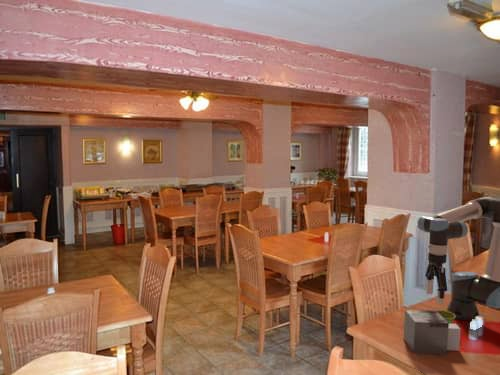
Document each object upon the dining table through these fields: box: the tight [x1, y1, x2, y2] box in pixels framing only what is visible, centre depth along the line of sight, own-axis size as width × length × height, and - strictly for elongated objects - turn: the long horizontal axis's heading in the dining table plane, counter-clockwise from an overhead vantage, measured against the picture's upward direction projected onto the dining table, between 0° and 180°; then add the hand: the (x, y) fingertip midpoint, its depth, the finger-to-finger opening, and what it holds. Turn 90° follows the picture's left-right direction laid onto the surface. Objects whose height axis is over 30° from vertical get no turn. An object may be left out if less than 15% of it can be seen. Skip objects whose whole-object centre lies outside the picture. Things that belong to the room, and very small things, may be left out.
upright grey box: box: [447, 323, 461, 352], centre depth 179 cm, size 10×5×10 cm, turn 87°
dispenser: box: [403, 309, 449, 355], centre depth 179 cm, size 14×13×14 cm
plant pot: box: [436, 309, 456, 324], centre depth 194 cm, size 9×9×9 cm
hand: (434, 299), depth 183 cm, fingers open, 13 cm apart
